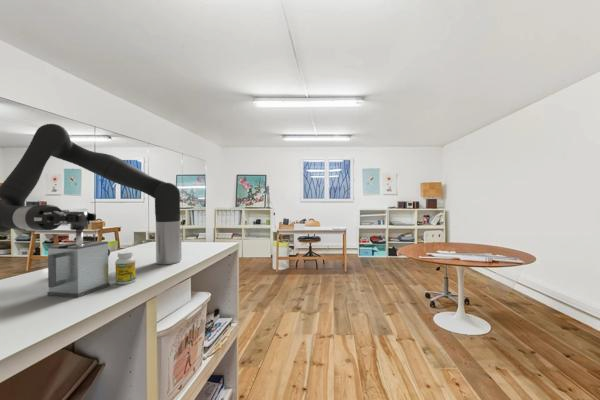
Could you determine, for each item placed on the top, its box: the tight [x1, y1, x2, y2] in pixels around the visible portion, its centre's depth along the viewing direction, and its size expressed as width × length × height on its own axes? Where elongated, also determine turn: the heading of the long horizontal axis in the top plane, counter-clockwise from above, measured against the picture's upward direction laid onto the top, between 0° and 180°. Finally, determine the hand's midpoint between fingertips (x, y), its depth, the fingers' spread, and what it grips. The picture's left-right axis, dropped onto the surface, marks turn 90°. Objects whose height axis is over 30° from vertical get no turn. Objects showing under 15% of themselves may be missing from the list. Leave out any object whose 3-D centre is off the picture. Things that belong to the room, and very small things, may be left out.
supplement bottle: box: [115, 250, 137, 285], centre depth 87 cm, size 5×5×10 cm
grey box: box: [46, 240, 111, 298], centre depth 78 cm, size 13×10×14 cm
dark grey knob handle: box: [69, 211, 89, 245], centre depth 79 cm, size 7×7×18 cm
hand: (87, 217), depth 79 cm, fingers closed on dark grey knob handle, 4 cm apart
